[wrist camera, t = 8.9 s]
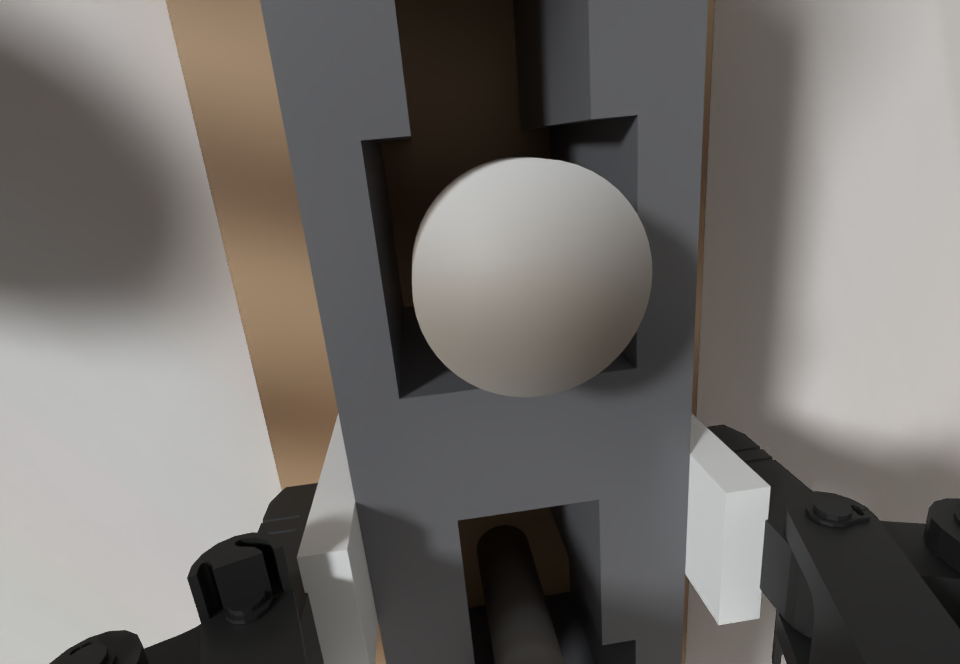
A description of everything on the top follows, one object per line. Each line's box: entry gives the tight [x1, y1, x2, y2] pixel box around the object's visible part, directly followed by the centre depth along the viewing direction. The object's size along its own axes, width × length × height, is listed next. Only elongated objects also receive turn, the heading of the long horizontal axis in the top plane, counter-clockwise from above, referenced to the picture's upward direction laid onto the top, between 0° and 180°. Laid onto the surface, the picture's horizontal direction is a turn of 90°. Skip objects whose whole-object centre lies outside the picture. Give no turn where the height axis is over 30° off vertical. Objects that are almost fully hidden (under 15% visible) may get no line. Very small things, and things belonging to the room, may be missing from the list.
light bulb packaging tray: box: [260, 0, 708, 664], centre depth 12 cm, size 22×6×6 cm, turn 5°
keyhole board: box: [166, 0, 715, 664], centre depth 13 cm, size 24×12×8 cm, turn 5°
